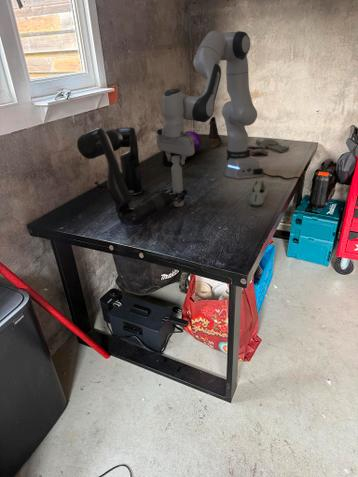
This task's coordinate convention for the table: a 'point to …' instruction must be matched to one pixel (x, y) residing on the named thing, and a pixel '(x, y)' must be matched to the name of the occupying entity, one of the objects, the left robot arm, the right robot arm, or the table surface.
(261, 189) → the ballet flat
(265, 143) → the pair of gloves
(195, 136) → the decorative orb
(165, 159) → the handbag
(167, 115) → the right robot arm
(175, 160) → the cap
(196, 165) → the table surface
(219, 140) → the boot
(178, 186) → the bottle
